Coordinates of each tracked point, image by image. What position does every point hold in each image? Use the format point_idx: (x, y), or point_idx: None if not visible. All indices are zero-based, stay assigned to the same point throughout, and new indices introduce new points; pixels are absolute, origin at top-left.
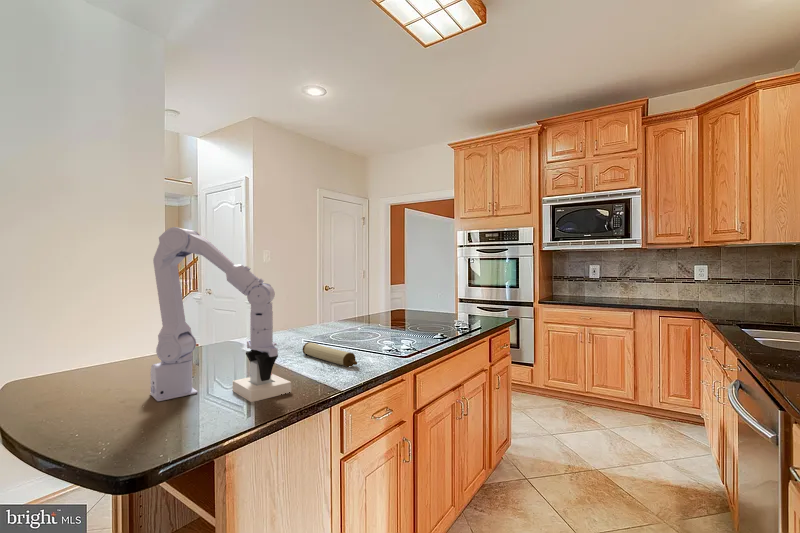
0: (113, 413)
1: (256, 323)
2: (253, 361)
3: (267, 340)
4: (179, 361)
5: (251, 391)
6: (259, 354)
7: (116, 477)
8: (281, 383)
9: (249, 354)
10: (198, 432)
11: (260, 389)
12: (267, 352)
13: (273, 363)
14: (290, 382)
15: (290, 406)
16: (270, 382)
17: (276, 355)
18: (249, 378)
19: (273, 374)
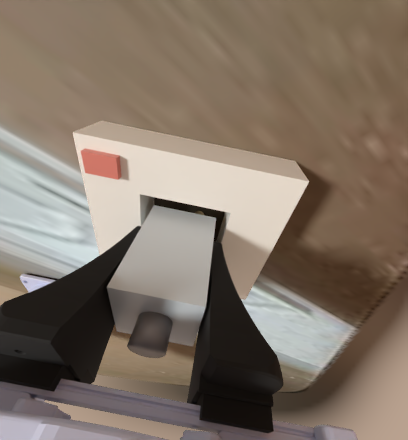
0: (115, 348)
1: None
2: (126, 327)
3: None
4: (43, 401)
5: (245, 298)
6: (88, 339)
7: (292, 392)
8: (278, 218)
9: (94, 377)
10: (277, 352)
11: (254, 281)
12: (245, 438)
13: (245, 312)
14: (306, 183)
15: (381, 249)
16: (214, 222)
17: (350, 437)
18: (111, 237)
19: (114, 143)
